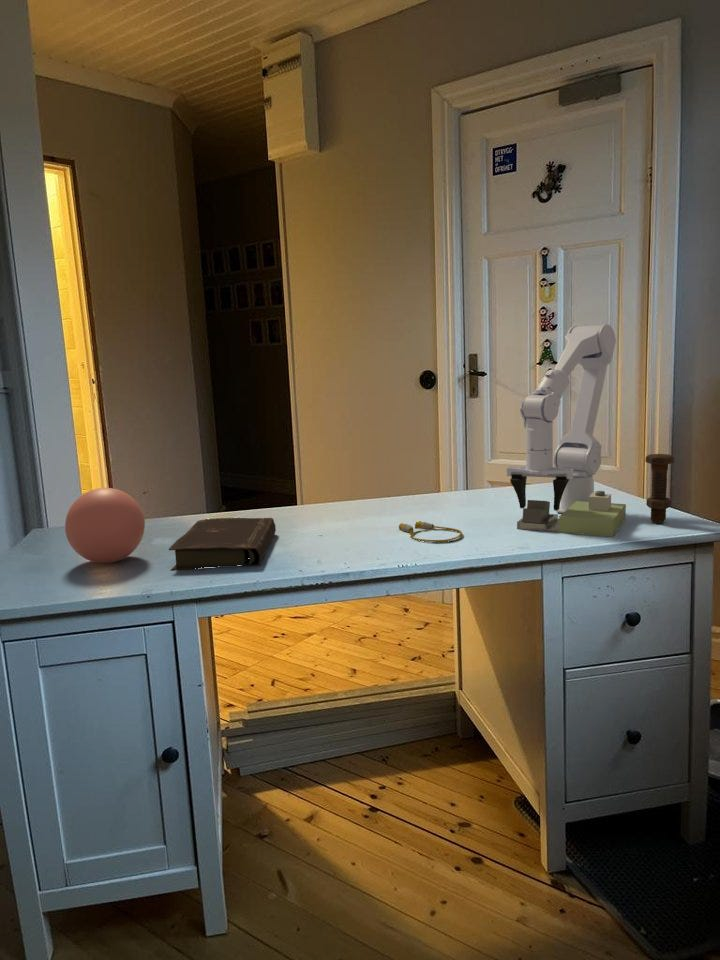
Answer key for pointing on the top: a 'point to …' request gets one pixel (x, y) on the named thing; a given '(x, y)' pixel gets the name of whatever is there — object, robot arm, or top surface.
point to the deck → (593, 516)
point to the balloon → (104, 525)
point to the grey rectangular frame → (541, 524)
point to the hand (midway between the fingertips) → (539, 508)
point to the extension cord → (427, 526)
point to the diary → (223, 542)
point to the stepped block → (536, 511)
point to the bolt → (659, 486)
